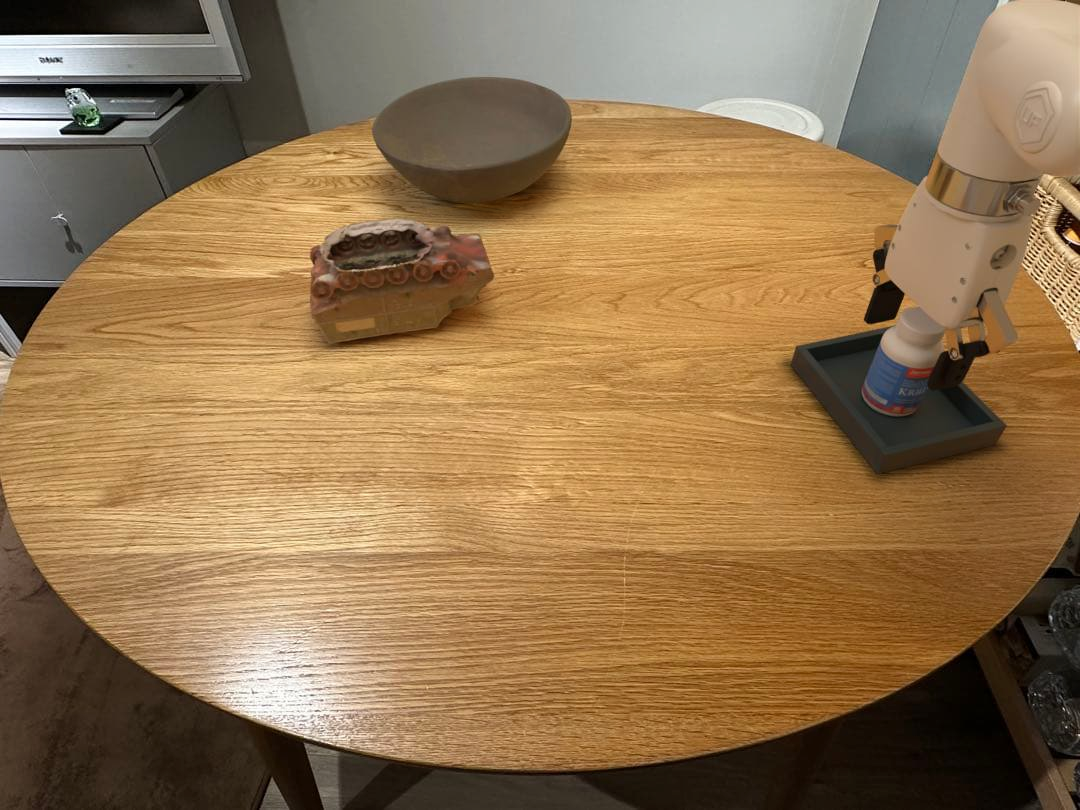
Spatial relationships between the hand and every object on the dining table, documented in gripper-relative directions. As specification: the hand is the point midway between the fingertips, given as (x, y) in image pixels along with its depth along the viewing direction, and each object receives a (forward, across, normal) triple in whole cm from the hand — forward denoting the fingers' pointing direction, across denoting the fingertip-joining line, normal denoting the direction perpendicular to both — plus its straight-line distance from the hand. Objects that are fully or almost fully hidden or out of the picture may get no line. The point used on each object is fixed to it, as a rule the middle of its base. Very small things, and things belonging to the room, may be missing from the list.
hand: (909, 351), depth 71 cm
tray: (+7, 0, 0) cm, 7 cm away
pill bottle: (+6, 0, 0) cm, 6 cm away
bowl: (+7, +55, +29) cm, 63 cm away
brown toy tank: (+7, +29, +43) cm, 52 cm away
